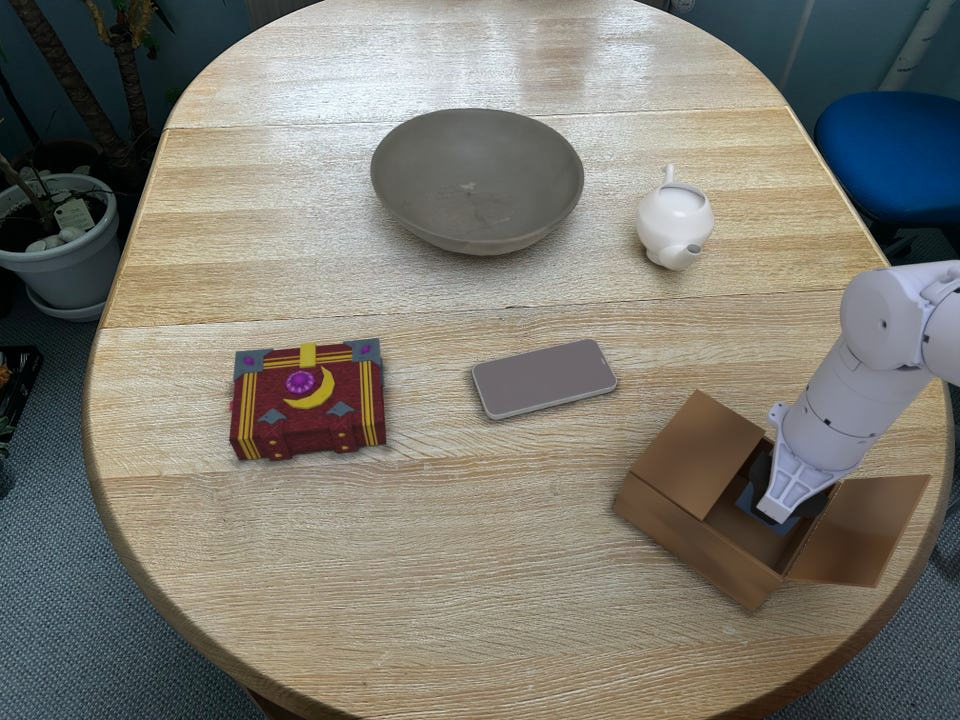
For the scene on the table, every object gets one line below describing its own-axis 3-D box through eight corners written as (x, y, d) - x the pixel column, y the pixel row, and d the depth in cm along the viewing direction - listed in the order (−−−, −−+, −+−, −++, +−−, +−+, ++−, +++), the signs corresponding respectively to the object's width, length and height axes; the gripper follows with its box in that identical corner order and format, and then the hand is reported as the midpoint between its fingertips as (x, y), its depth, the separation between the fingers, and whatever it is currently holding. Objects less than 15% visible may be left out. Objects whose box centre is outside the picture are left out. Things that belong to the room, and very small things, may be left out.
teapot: (688, 206, 94) (706, 149, 87) (714, 311, 82) (738, 255, 75) (619, 204, 94) (633, 146, 87) (635, 308, 82) (652, 251, 75)
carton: (808, 519, 65) (845, 479, 59) (751, 612, 59) (786, 578, 53) (675, 433, 71) (696, 387, 65) (612, 509, 65) (628, 468, 59)
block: (758, 470, 60) (776, 443, 56) (805, 500, 58) (827, 475, 55) (734, 504, 58) (751, 479, 54) (782, 537, 56) (804, 513, 52)
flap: (844, 479, 59) (846, 481, 59) (785, 577, 53) (787, 580, 53) (930, 473, 52) (932, 476, 52) (873, 585, 47) (876, 588, 47)
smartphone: (469, 364, 75) (594, 335, 78) (469, 369, 76) (593, 341, 78) (489, 418, 70) (620, 385, 73) (488, 423, 71) (619, 390, 74)
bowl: (362, 286, 83) (354, 235, 77) (388, 153, 101) (383, 102, 94) (583, 294, 83) (593, 243, 77) (570, 159, 101) (578, 109, 94)
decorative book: (388, 448, 69) (384, 421, 65) (227, 467, 67) (212, 440, 63) (382, 362, 76) (378, 333, 72) (236, 377, 74) (223, 348, 70)
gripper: (835, 315, 51) (771, 415, 62) (746, 436, 44) (691, 525, 55) (929, 364, 49) (845, 460, 59) (850, 501, 42) (771, 581, 52)
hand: (776, 494), depth 57 cm, fingers closed on block, 4 cm apart
